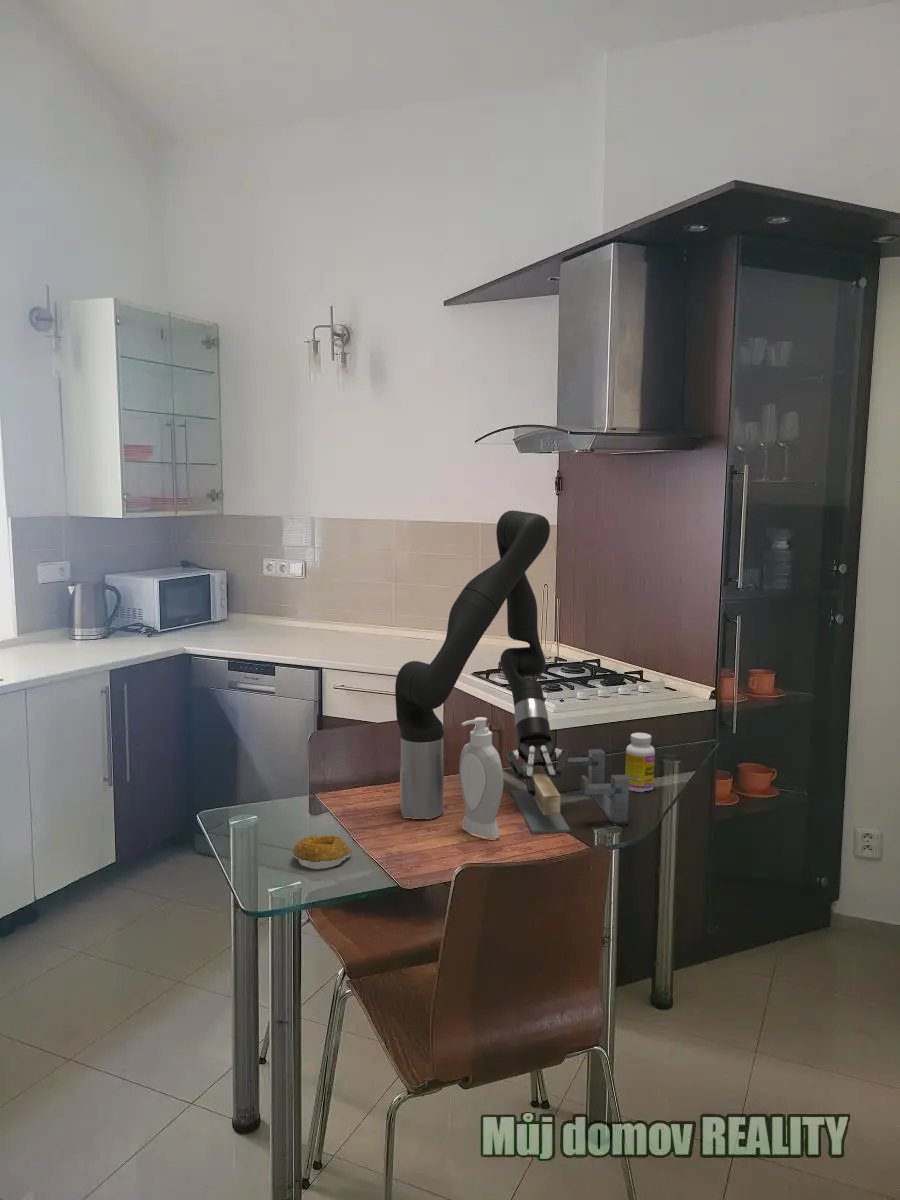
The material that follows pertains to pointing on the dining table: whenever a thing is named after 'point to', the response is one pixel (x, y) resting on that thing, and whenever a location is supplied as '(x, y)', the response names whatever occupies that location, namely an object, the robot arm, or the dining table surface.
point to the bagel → (321, 848)
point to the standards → (603, 786)
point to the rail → (545, 791)
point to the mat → (538, 815)
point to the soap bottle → (481, 781)
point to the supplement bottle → (640, 763)
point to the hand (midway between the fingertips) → (542, 793)
